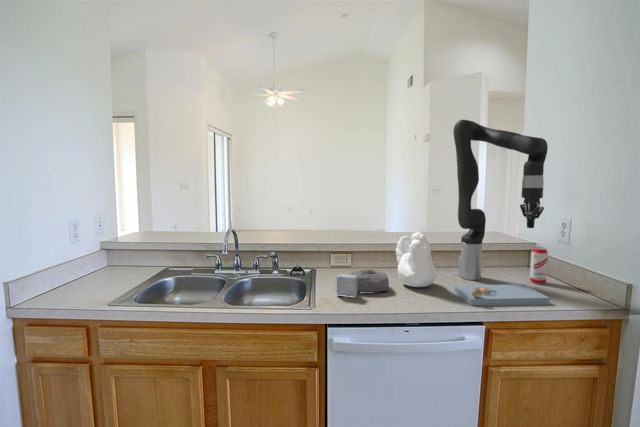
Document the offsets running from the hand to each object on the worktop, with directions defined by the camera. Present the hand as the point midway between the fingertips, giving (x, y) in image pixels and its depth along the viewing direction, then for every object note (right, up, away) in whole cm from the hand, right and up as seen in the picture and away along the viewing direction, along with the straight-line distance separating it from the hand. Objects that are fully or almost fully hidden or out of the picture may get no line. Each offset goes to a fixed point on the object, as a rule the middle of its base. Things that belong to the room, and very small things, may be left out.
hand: (530, 227), depth 143 cm
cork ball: (-28, -25, -12) cm, 39 cm away
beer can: (+11, -26, +13) cm, 31 cm away
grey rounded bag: (-68, -28, +8) cm, 74 cm away
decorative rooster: (-45, -26, +16) cm, 54 cm away
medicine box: (-77, -29, 0) cm, 82 cm away
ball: (-22, -26, -5) cm, 35 cm away
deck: (-16, -28, -5) cm, 32 cm away
